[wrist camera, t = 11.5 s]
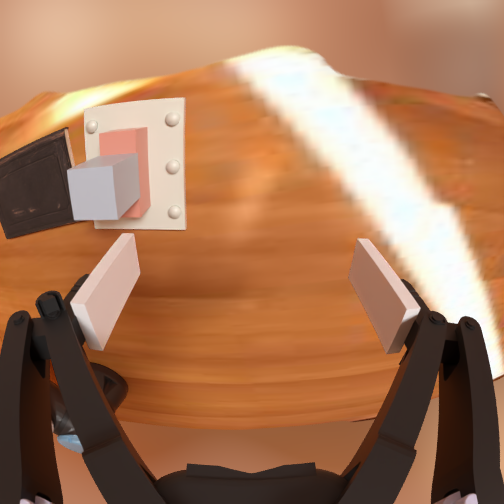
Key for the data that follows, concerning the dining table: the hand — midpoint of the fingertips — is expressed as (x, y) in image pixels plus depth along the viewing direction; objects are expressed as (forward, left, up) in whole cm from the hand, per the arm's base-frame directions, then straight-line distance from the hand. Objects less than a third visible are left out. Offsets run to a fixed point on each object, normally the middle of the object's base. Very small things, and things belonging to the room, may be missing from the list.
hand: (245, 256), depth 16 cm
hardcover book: (-39, -2, -28) cm, 48 cm away
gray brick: (-17, 0, -21) cm, 27 cm away
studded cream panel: (-17, 0, -27) cm, 32 cm away
